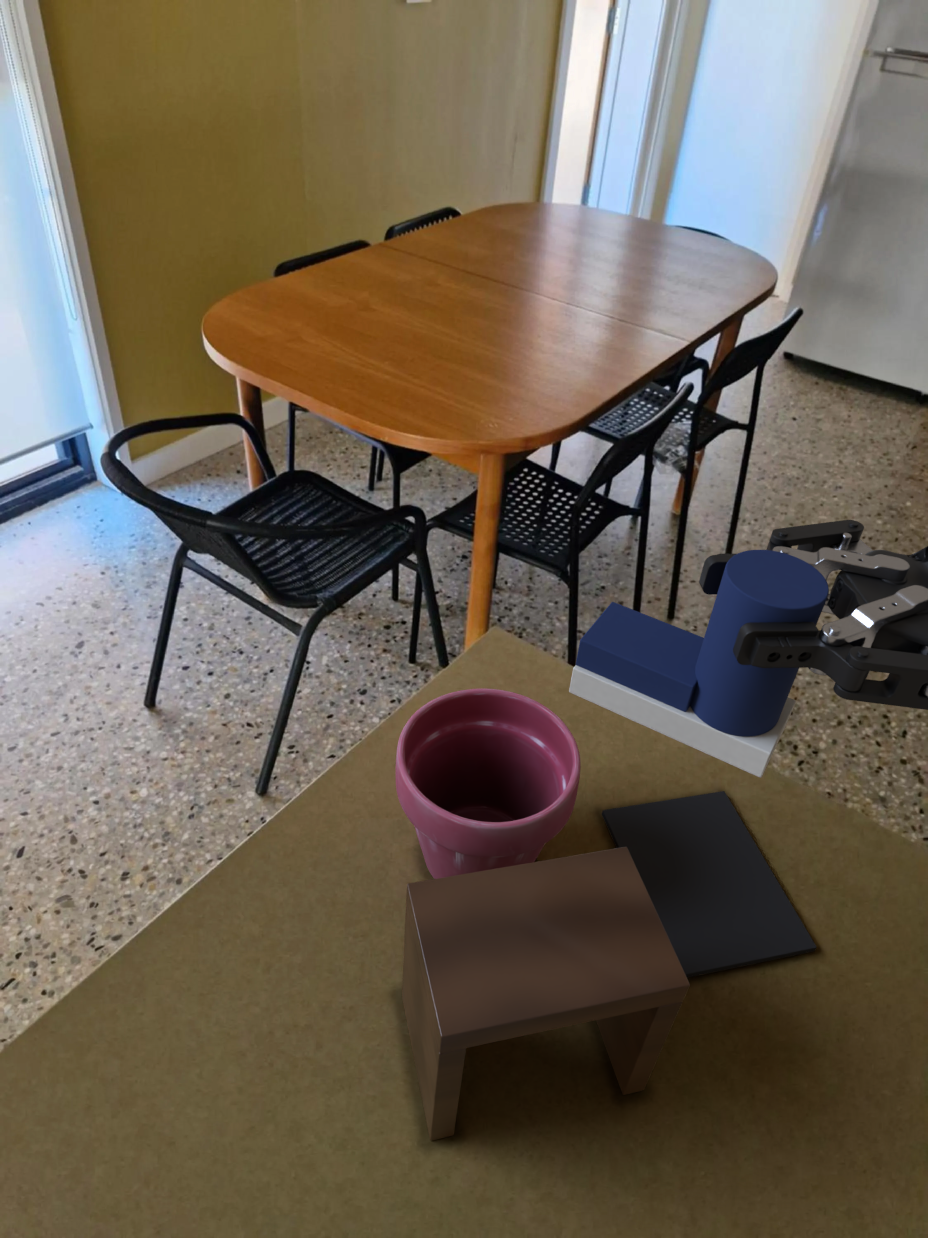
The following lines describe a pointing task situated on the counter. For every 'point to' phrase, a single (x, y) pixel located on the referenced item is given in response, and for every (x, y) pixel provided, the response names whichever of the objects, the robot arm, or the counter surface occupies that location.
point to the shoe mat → (708, 883)
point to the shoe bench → (535, 967)
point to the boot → (705, 663)
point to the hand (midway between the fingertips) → (721, 608)
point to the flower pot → (485, 779)
